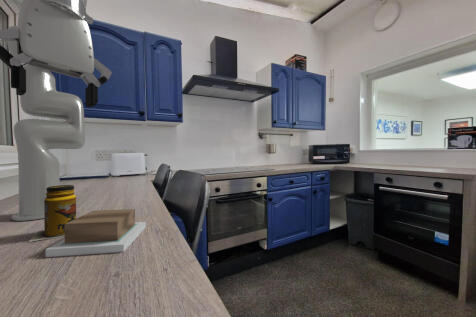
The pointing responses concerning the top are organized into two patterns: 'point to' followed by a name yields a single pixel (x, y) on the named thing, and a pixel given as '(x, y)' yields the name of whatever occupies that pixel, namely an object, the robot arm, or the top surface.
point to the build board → (96, 244)
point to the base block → (100, 226)
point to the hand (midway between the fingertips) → (59, 100)
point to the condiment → (57, 211)
